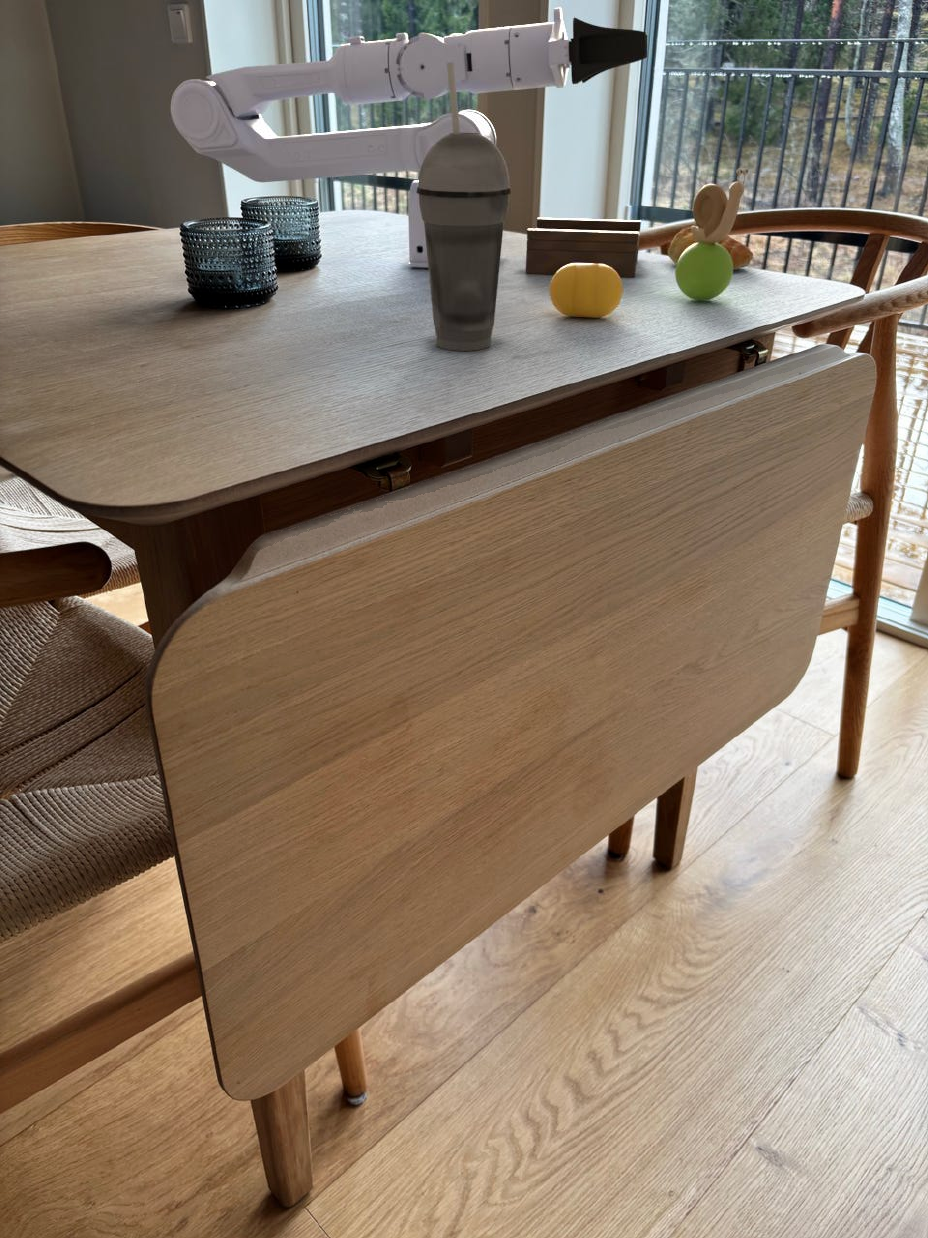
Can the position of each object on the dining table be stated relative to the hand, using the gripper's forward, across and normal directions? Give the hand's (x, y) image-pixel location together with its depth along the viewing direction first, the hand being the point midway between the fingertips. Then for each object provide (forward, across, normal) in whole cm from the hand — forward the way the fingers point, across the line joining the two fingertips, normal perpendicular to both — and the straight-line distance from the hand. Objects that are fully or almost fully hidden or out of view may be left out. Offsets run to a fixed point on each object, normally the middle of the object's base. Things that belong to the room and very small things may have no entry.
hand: (646, 45), depth 96 cm
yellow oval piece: (-5, -24, +21) cm, 33 cm away
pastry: (+7, +5, +23) cm, 24 cm away
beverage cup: (-14, -36, +21) cm, 44 cm away
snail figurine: (+6, -15, +22) cm, 28 cm away
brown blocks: (-7, +1, +21) cm, 22 cm away
